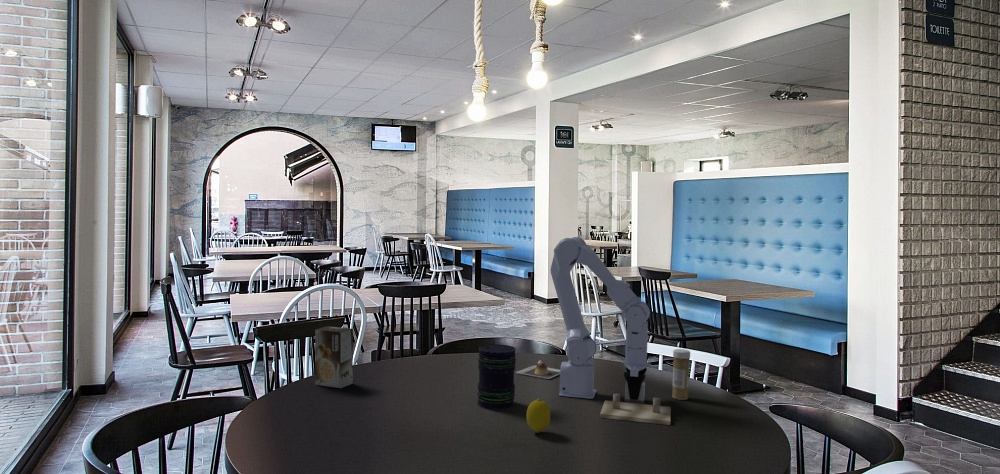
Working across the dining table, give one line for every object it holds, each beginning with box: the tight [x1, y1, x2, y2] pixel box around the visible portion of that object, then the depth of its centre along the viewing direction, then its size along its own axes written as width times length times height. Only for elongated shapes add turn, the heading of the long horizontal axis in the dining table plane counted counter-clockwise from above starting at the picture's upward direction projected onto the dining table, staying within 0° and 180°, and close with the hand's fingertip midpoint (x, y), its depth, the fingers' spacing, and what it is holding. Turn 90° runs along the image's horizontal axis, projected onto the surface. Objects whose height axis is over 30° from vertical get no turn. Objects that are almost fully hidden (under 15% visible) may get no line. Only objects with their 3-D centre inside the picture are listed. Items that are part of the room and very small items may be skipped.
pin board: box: [599, 393, 672, 426], centre depth 167 cm, size 17×12×4 cm
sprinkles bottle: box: [671, 348, 691, 401], centre depth 182 cm, size 5×5×14 cm
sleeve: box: [624, 380, 646, 404], centre depth 178 cm, size 5×5×5 cm
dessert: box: [515, 359, 560, 380], centre depth 206 cm, size 12×12×5 cm
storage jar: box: [477, 343, 517, 411], centre depth 172 cm, size 10×10×15 cm
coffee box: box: [314, 325, 354, 389], centre depth 187 cm, size 9×6×16 cm
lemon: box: [526, 398, 551, 434], centre depth 151 cm, size 6×6×8 cm
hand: (634, 396), depth 178 cm, fingers closed on sleeve, 5 cm apart
